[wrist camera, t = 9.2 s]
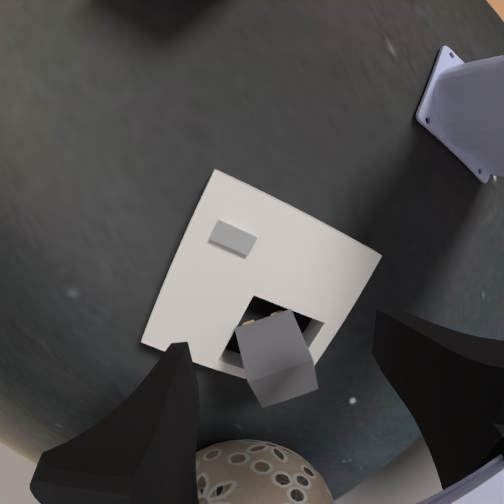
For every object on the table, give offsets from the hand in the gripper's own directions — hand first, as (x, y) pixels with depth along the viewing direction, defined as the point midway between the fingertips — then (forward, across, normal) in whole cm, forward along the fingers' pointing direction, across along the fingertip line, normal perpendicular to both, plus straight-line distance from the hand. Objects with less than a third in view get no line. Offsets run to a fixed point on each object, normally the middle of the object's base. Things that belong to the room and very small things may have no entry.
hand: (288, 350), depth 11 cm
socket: (+10, 0, +2) cm, 10 cm away
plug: (+9, 0, +5) cm, 11 cm away
